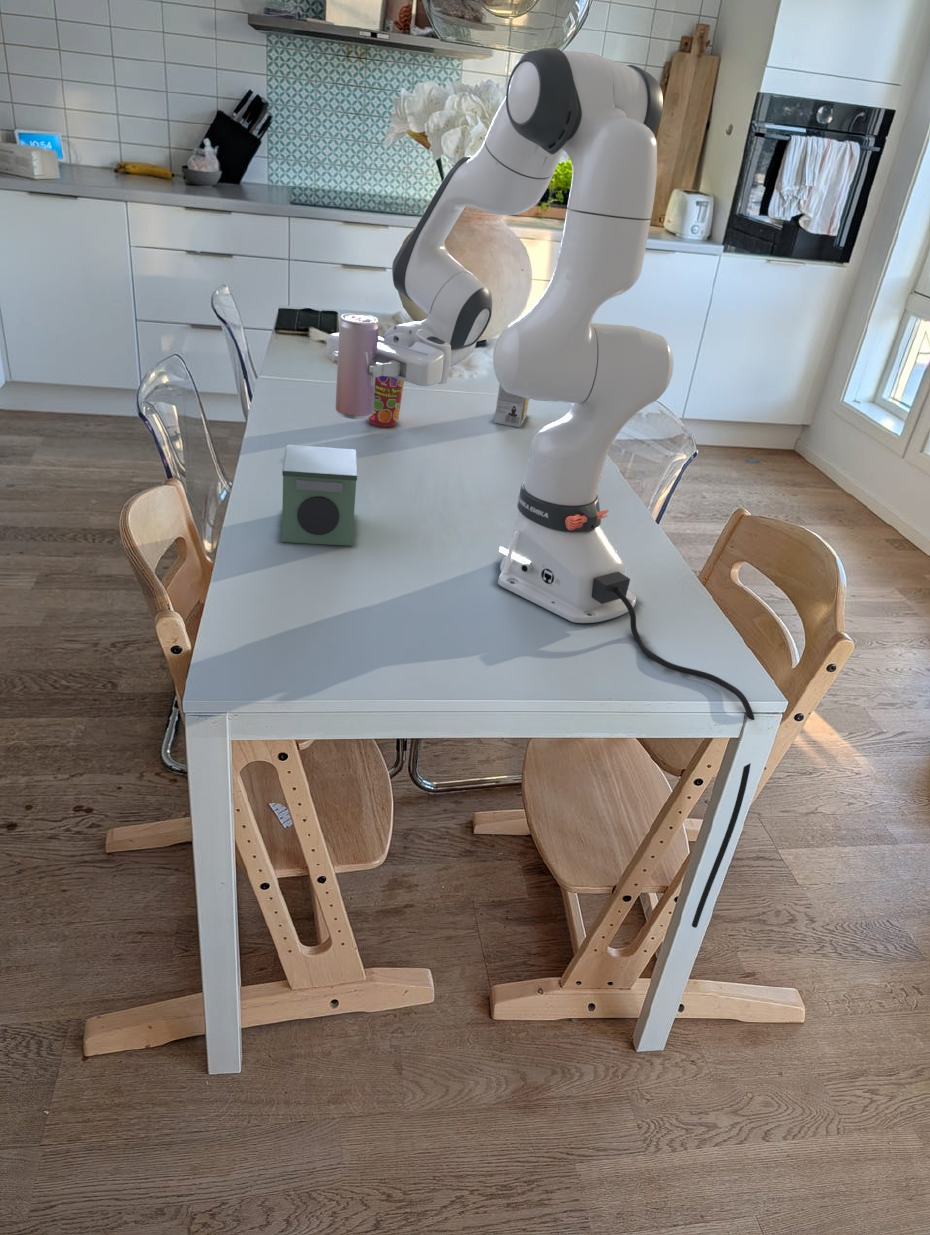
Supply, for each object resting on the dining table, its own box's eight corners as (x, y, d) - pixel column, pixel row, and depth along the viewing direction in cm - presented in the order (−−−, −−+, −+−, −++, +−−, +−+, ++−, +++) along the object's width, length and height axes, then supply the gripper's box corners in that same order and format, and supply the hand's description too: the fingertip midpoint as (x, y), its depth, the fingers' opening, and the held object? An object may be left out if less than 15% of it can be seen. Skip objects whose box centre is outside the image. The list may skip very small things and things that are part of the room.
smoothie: (366, 429, 192) (373, 333, 182) (359, 416, 199) (365, 322, 189) (405, 430, 195) (414, 335, 185) (396, 416, 201) (404, 324, 191)
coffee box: (500, 411, 213) (510, 342, 205) (526, 416, 213) (537, 347, 205) (493, 423, 206) (503, 351, 198) (521, 428, 205) (532, 356, 197)
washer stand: (352, 547, 145) (357, 477, 138) (280, 543, 143) (282, 472, 137) (352, 516, 154) (356, 449, 148) (284, 512, 153) (286, 444, 147)
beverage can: (350, 405, 149) (355, 311, 141) (380, 414, 147) (386, 319, 139) (327, 412, 144) (331, 316, 137) (357, 422, 142) (363, 325, 134)
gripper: (359, 318, 154) (303, 328, 144) (459, 346, 145) (407, 360, 135) (357, 355, 157) (302, 368, 147) (454, 385, 148) (403, 402, 138)
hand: (353, 365), depth 141 cm, fingers closed on beverage can, 6 cm apart
